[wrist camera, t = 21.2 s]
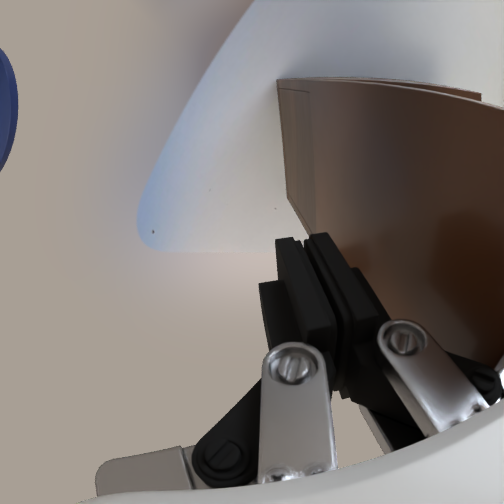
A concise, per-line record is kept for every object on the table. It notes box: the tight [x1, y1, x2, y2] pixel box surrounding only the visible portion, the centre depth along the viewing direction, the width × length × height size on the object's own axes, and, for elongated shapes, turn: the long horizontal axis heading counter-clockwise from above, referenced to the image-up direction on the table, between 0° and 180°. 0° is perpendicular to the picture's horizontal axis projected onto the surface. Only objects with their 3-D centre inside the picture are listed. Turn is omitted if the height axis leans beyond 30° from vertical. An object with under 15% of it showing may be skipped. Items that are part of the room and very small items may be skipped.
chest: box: [276, 77, 481, 235], centre depth 23 cm, size 14×12×11 cm
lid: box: [308, 79, 504, 371], centre depth 11 cm, size 14×12×1 cm
